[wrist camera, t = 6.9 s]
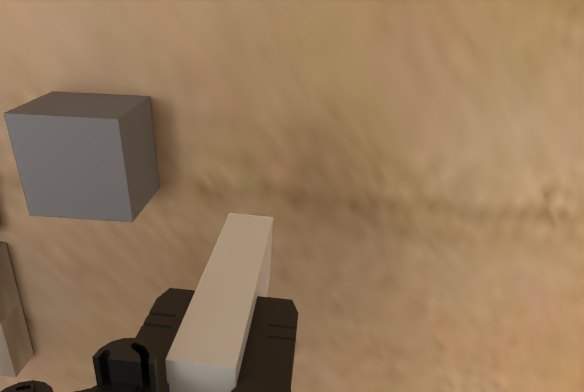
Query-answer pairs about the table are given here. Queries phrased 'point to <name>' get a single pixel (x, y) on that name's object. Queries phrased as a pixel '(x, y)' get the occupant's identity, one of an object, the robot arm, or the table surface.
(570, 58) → the table surface
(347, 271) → the table surface
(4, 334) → the laid floor rows
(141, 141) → the block
